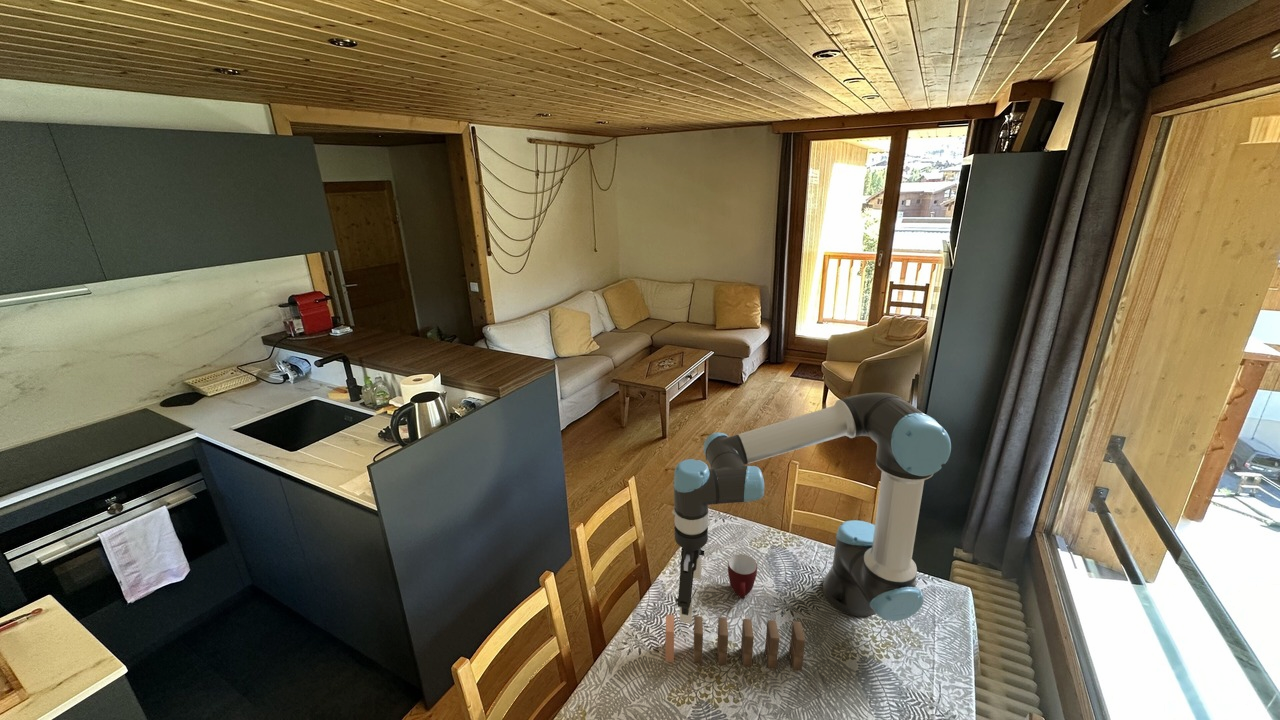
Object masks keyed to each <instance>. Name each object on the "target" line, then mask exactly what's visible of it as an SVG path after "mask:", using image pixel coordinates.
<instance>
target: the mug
mask: <svg viewBox="0 0 1280 720" xmlns="http://www.w3.org/2000/svg"><path fill="white" fill-rule="evenodd" d="M727 563H728V564H727V574H728V579H729V585H730V588H731V589H732V592H733V593H734V594H735V596H738V597H739V599H742V600H744V599H745V597H747V596H748V594H750V592H751V591H752V589H753V587H754V585H755V582H756V580H757V579H756V578H757V575H758V573H757V572H758V564H757V561H756V560H755V559H754V558H753V557H751V556H750V555H748V554H742V553H741V554H740V553H738V554H734V555H732V556H730V558H729V559H728V562H727Z"/></svg>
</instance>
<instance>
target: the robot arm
mask: <svg viewBox="0 0 1280 720" xmlns="http://www.w3.org/2000/svg"><path fill="white" fill-rule="evenodd" d="M845 436H846V437H848V438H849V439H853V438H856V437H869V438H870V439H871V440H872V441H873V442H874V443H876V446H877V447H876V455H875V464H876V467H877V468H878V469H879V470H880V471H881V475H880V482H879V491H878V498H877V506H876V514H875V522H874V524H873V523H870V522H867V521H864V520H858V519H857V520H856V519H855V520H846V521H844V522H842V523H840V525H839V526H838V529H837V531H836V534H835V538H836V539H835V544H834V545H835V546H834V551H833V552H834V553H833V561H832V566H831V568H830V569H829V571H828V572H827V574H826V575H825V577H824V579H823V585H822V593H823V595H824V597H825V599H826V600H827V602H828V603H830V605H831V606H833V607H834V608H835V609H837V610H838V611H840V612H842V613H845V615H850V616H852V617H853V616H854V617H858V618H859V617H860V618H861V617H870V616H872V615H874V614H876V615H877V616H878V617H879V618H880V619H882V620H884V621H887V622H900V621H903V620H907V619H909V618H911V617H912V616H914V615H916V614H917V613H918V612H919V611H920V610H921V609H922V607H923V605H924V601H925V600H924V595H923V593H922V590H920V588H918V587H917V584H916V580H917V575H918V568H917V564H916V562H915V561H914V560H913V553H914V548H915V547H914V546H915V541H916V533H917V528H918V521H919V515H920V509H921V503H922V498H923V497H922V496H923V490H924V486H925V485H924V484H925V481H926V480H928V479H930V478H932V477H933V476H934V474H936V473H937V472H939V471H940V470H941V469H942V465H946V463H947V462H948V461H949V458H950V456H951V451H952V443H951V438H950V435H949V434H948V432H947V430H945V428H944V427H943V426H942V425H941V424H939V423H938V421H936V419H935V418H934V417H931V416H930V415H928V414H925V413H924V412H922V411H921V410H919V409H918V408H917V407H915V406H913V405H912V404H911V403H909V402H908V401H907V400H906V399H905V398H903V397H901V396H898V395H896V394H893V393H889V392H871V393H870V392H868V393H867V392H866V393H861V394H856V395H851V396H848V397H845V398H841V399H837V400H836V402H835V403H834V405H832V406H829V407H828V406H827V407H826V408H822V409H819V410H818V409H817V410H815V411H813V412H812V411H811V412H808V413H804V414H802V415H798V416H794V417H791V418H789V419H785V420H781V421H778V422H775V423H772V424H768V425H764V426H761V427H759V428H755V429H750V430H747V431H743V432H742V433H738V434H737V433H736V434H733V435H731V436H729V435H727V434H726V433H725V432H718V431H717V432H713V433H711V434H710V435H708V436H707V437H706V439H705V440H704V443H703V447H702V448H703V453H704V456H705V460H706V461H707V463H708V464H707V463H706V462H704V461H703V460H700V459H697V460H696V459H694V458H687V459H684V460H682V461H680V462H678V463H677V464H676V465H675V467H674V474H673V475H674V477H673V483H672V484H673V503H674V504H673V505H674V509H672V511H671V514H672V515H674V541H675V542H676V544H677V546H679V547H681V551H680V556H681V560H680V563H679V565H680V571H679V583H678V584H679V585H678V596H677V598H675V602H677V607H679V622H680V623H685V624H689V625H690V624H691V625H692V624H693V623H692V622H693V598H692V593H693V583H694V582H693V581H694V579H696V580H702V556H703V557H704V556H705V550H704V549H703V548H704V546H705V545H706V544H707V542H708V539H709V538H708V537H709V535H708V534H709V506H710V505H719V504H720V505H721V504H737V503H740V504H741V503H743V504H745V503H747V502H754V501H760V500H761V499H762V498H763V497H764V494H765V480H764V476H763V475H764V474H763V472H762V470H761V469H760V468H759V467H758V466H756V465H749V464H752V463H755V462H759V461H763V460H766V459H769V458H773V457H777V456H779V455H783V454H787V453H790V452H793V451H796V450H800V449H803V448H807V447H811V446H814V445H818V444H820V443H824V442H828V441H832V440H834V439H838V438H841V437H845ZM708 465H709V466H708ZM702 549H703V550H702Z"/></svg>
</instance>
